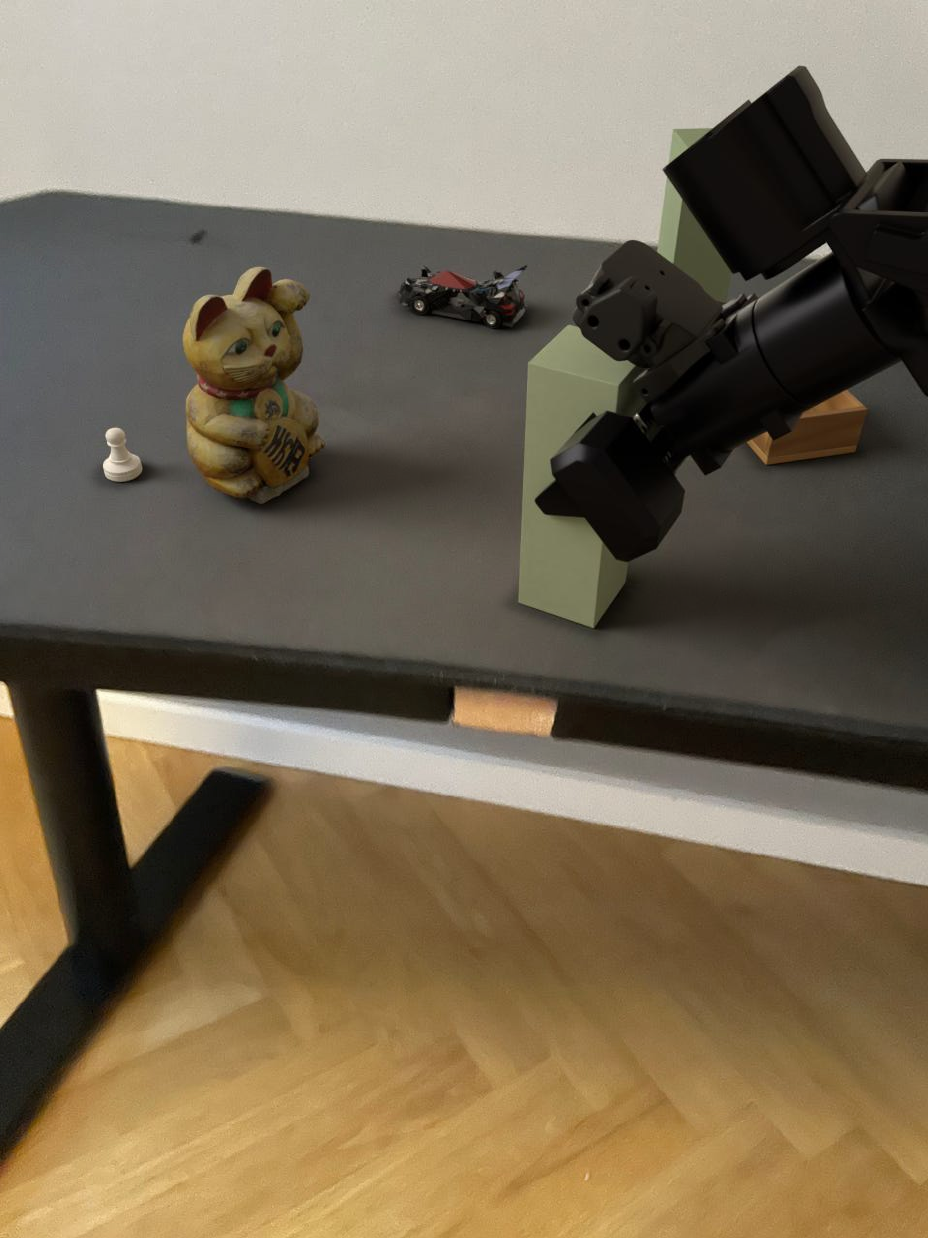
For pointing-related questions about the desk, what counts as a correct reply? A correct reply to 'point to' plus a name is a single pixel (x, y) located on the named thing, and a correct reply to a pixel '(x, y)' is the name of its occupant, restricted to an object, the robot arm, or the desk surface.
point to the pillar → (690, 231)
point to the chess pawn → (120, 458)
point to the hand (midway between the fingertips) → (560, 483)
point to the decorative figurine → (249, 389)
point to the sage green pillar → (554, 545)
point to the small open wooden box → (816, 432)
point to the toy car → (466, 296)
